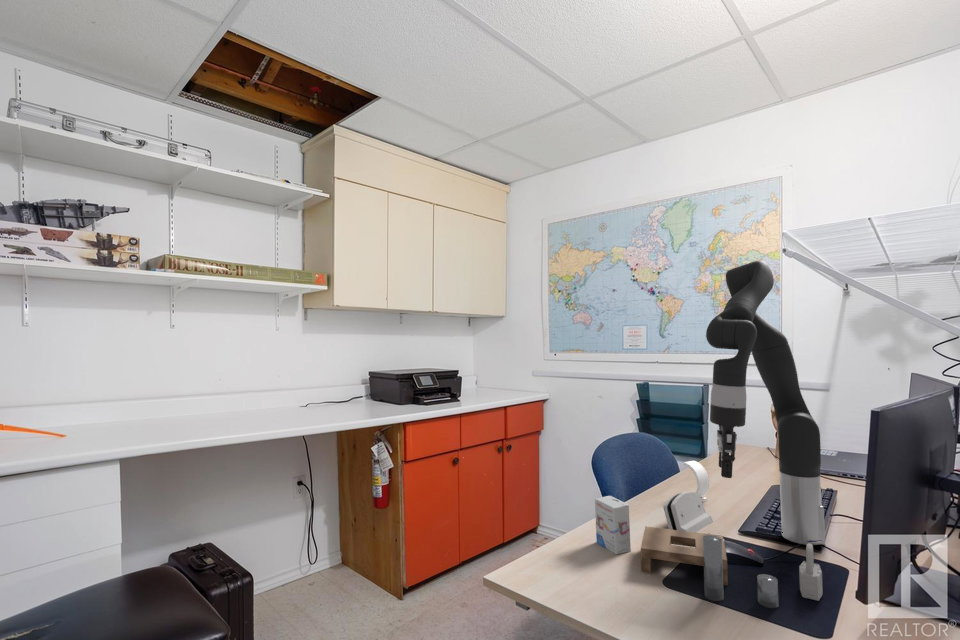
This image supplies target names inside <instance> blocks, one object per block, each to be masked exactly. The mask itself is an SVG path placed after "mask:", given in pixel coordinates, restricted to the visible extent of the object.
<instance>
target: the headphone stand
mask: <svg viewBox="0 0 960 640" xmlns="http://www.w3.org/2000/svg"><path fill="white" fill-rule="evenodd" d="M683 466H686V467H688V468H689V469H690V470H691V471H692V472H693V474H694V476H695V478H696V482H697V483H696V485H697V486H696V490H695V493H697V494H698V495H699V497H700V499H701V501H702V503H704V502H708V498H707V497H705V496H706V495H707V494H708V492H709V490H710V478H709V475H708V472H707V470H706V468H705V467H704V466H703V465H702V464H701V463H700V462H698V461H696V460H688V461H685V462H683Z"/></svg>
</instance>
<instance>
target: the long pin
mask: <svg viewBox="0 0 960 640" xmlns="http://www.w3.org/2000/svg"><path fill="white" fill-rule="evenodd" d="M713 535H714V534H712V535H705V536H703V557H704V566H703V582H704V583H703V586H704V597H705V598H706V599H707V600H710V601H712V602H722V601H724V599H725V598H724V597H725V595H724V585H723V562H722V539H721V538H720V537H717V536H713Z"/></svg>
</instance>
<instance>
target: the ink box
mask: <svg viewBox="0 0 960 640" xmlns="http://www.w3.org/2000/svg"><path fill="white" fill-rule="evenodd" d="M594 505H595V506H594V507H595V509H594V510H595V532H596V533H595V535H596V536H595V537H596V538H595V539H596V544H598V545H600V546H602V547H604V548H605V549H607V550H608V551H610V552H612V553H614V554H615V555H620V554H624V553H628V552H631V550H632V548H631V528H630V527H631V526H630V505H629V504H628V503H626V502H625V501H622V500H620V499H618V498H616V497H614V496H613V495H607V496H606V495H605V496H602V497H601V496H600V497H597V498H595V499H594Z"/></svg>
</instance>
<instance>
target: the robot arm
mask: <svg viewBox="0 0 960 640" xmlns="http://www.w3.org/2000/svg"><path fill="white" fill-rule="evenodd" d="M725 282H726V287H727V289H728V291H729V294H730V298H729V299H728V301H727V302H726V305H725V306H724V309H723V311H722V312H720V313H719V314H717V315H716V316H715V317H714V318H712V319H711V321H710V322H709V324H708V326H707V329H706V331H705V337H706V341H707V343H708V344H709V345H710V346H711V347H713V348H715V349H721V350H722V349H723V350H737V353H736V355H735V356H733V357H730V358H720V359H716V360H714V362H713V368H712V370H713V371H712V386H711V392H710V406H709V407H710V408H709V420H710V422H711V423H712V424H715V425H718V429H716V437H717V438H716V443H717V446H718V448H717V450H718V467H720V468H721V469H720V475H721V477H722V478H726V479H732V478H733V463H734V462H735V460H736V457H735V455H736V450H737V449H736V448H737V440H738V438H737V437H738V435H737V433H736V431H734V428H735V427H737V428H741V427H744V426H745V425H746V418H747V417H746V415H747V413H746V411H747V387H746V385H747V370H748V363H749V359H750V356H751V355H752V357H753V360H754V363H755V366H756V368H757V369H756V370H757V371H758V373H759V376H760V378H761V379H762V382H763V384H764V385H765V387H766V389H767V391H768V394H769V396H770V398H771V402H772V404H773V409H774V414H775V418H776V426H777V431H778V432H777V433H778V434H777V435H778V438H777V439H778V467H779V468H778V469H779V470H778V471H779V472H778V475H779V494H780V495H779V496H780V497H779V498H780V499H779V500H780V516H781V517H780V521H781V524H780V525H781V526H780V528H781V536H782V537H783V538H784V539H786V540H788V541H790V542H792V543H796V544H800V545H807V544H808V543H810V544H812V545H813V546H817V545H822V546H823V545H824V546H825V545H826V531H825V529H826V526H825V509H824V508H825V507H824V506H823V505H822V487H821V486H822V485H821V484H822V483H821V465H822V461H821V459H822V457H821V452H822V451H821V450H822V449H821V432H820V428H819V425H818V423H816V421H815V419H814V418H813V415H812V414H811V412H810V410H809V409H808V406H807V404H806V401H805V399H804V397H803V395H802V392H801V387H800V385H799V377H798V371H797V366H796V363H795V359H794V355H793V353H792V350H791V346H790V344H789V341H788V338H787V337H786V336H785V334H784V333H783V332H782V331H780V330H779V328H777V327H775V326H774V325H773V324H772V323H770V322H768V321H767V320H766V319H765V318H763V317H762V316H761V315H760V314H759V312H757V310H758V308H759V306H761V304H762V302H763V301H764V300H765V298H766V297H767V296H768V295H769V293H771V291H772V289H773V287H774V283H775V279H774V275H773V272H772V269H771V267H770V266H769V264H768V263H766V262H765V261H764V260H755V261H751V262H747V263H746V264H742V265H739V266H736V267H733V268H730V269H729V270H727V271H726V272H725ZM782 532H783V533H782ZM809 540H822V541H817V542H807V541H809Z"/></svg>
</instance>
